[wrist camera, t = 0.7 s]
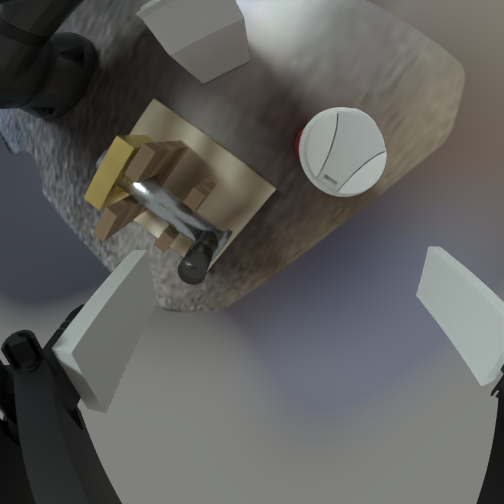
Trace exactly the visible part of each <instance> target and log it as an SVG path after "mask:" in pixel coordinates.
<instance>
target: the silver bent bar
mask: <svg viewBox="0 0 504 504" xmlns="http://www.w3.org/2000/svg"><path fill="white" fill-rule="evenodd" d="M108 150H109V149H107V150H106V151H105V152H104V153H103V154H102V155H101V156H100V158H99V159H98V161H97V164H96V169H97V170H98V168H99V166H100V164H101V163H102V161H103V159H104V157H105V155H106V153H107V152H108ZM130 164H131V163H130ZM129 166H130V165H129ZM129 166H128V167H129ZM127 169H128V168H127ZM126 171H127V170H126ZM126 171H125V172H126ZM117 186H119V187H120V188H121V189H123V190H124V191H125V192H126V193H128V194H129V195H130V196H132V197H133V198H134V199H135V200H137V201H138V202H139V203H141V204H142V205H143V206H145V207H146V208H147V209H148V210H150V211H151V212H152V213H154V214H155V215H156V216H158V217H159V218H160V219H162V220H163V221H164V222H166V223H167V224H168V225H170V226H171V227H172V228H174V229H175V230H176V231H178V232H179V233H180V234H182V235H183V236H184V237H186V238H187V239H188V240H190V241H191V242H192V245H191V246H190V248H189V250H188V251H187V253H186V255H185V256H184V258H183V260H182V261H181V263H180V265H179V267H178V274H179V276H180V278H181V279H182V280H183V281H184V282H186V283H188V284H191V285H196V284H199V283H201V282H202V281H203V280H204V278H205V276H206V273H207V270H208V268H209V265H210V262H211V261H212V260H213V259H214V258H215V257H216V256H217V255H218V254H219V253H220V251H221V250H222V249H223V247H224V246H225V244H226V243H227V241H228V240H229V238H230V237H231V235H232V232H233V231H232V230H231V229H229V228H228V227H225V228H224V229H223V230H220V229H219V228H218V227H216V226H215V225H214V224H212V223H211V222H210V221H208V220H207V219H206V218H204V217H203V216H202V215H200V214H199V213H198V212H196V211H193V210H192V209H191V208H189V207H188V206H187V205H185V204H184V203H183V201H182V200H180V199H179V198H178V197H176V196H175V195H174V194H172V193H171V192H170V191H168V190H167V189H166V188H164V187H163V186H162V185H160V184H159V183H158V182H156V181H155V180H154V179H152V178H151V177H150V178H147V179H145V180H142V181H140V182H138V183H135V182H134V181H132V180H131V179H130V178H128V177H127V176H126V175H125V173H124V175H123V176H122V178H121V180H120V182H119V183H118V185H117Z"/></svg>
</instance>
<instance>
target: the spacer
mask: <svg viewBox="0 0 504 504" xmlns="http://www.w3.org/2000/svg"><path fill="white" fill-rule="evenodd" d="M152 142H156V141H154V140H153V139H152V138H150V137H149V136H148V135H118V136H116V138H115V139H114V141H113V143H112V145H111V146H110V148H109V150H108V152H107V153H106V155H105V157H104V159H103V161H102V163H101V164H100V166H99V168H98V170H97V172H96V174H95V176H94V178H93V180H92V182H91V184H90V186H89V188H88V190H87V192H86V194H85V197H84V199H86V200H87V201H88V202H89V203H90V204H92V205H93V206H94V207H95V208H97V209H98V210H99V211H100V210H101V209H103V208H105V207H107V206H109V205H111V204H113V203H115V202H116V201H118V200H120V199H122V198H124V197H126V196H128V195H129V194H128V193H126V192H125V191H124V190H123V189H121V188H120V187H119V186H117V185H118V183H119V182H120V180H121V178H122V176H123V175H124V173H125V171H126V170H127V168H128V166H129V165H130V163H131V162H132V161H133V159H134V158H135V156H136V154H137V153H138V151H139V150H140V148H141V146H142V145H143V143H152Z"/></svg>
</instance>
